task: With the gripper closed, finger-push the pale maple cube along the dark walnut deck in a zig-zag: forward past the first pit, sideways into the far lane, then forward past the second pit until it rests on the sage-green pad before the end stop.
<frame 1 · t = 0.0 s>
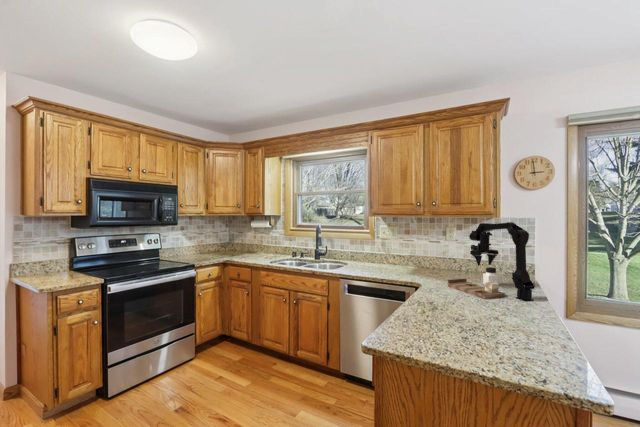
hand: (484, 265, 199), 15 cm above the counter, fingers open, 9 cm apart
maple cube: (491, 291, 180), point 2 cm above the counter, touching trap deck
trap deck: (474, 291, 188), on the counter
medicine bottle: (490, 285, 206), on the counter
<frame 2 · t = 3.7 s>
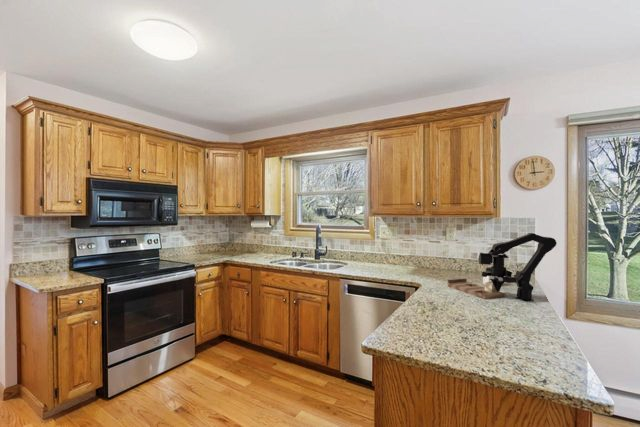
hand: (498, 291, 176), 3 cm above the counter, fingers closed
maple cube: (491, 291, 180), point 2 cm above the counter, touching gripper, trap deck
everything else where it was.
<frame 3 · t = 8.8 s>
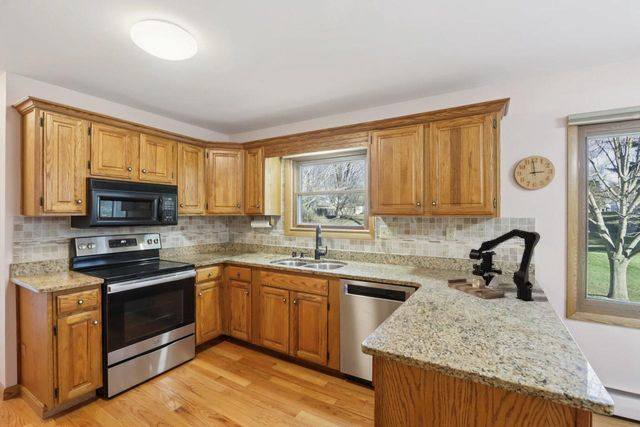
hand: (486, 285, 189), 3 cm above the counter, fingers closed
maple cube: (479, 287, 189), point 2 cm above the counter, touching gripper, trap deck
everything else where it was.
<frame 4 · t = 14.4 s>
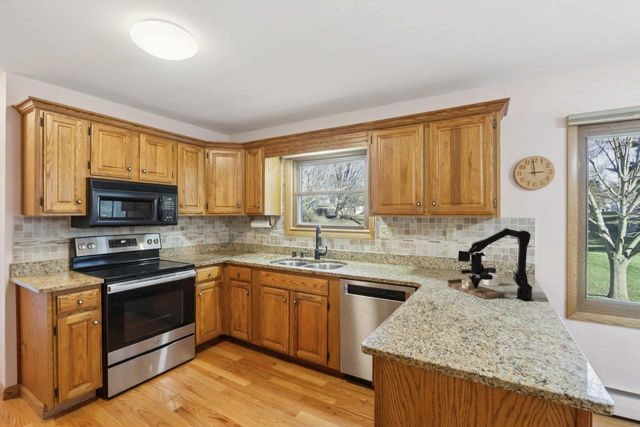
hand: (476, 288, 182), 4 cm above the counter, fingers closed
maple cube: (468, 288, 186), point 2 cm above the counter, touching gripper
everything else where it was.
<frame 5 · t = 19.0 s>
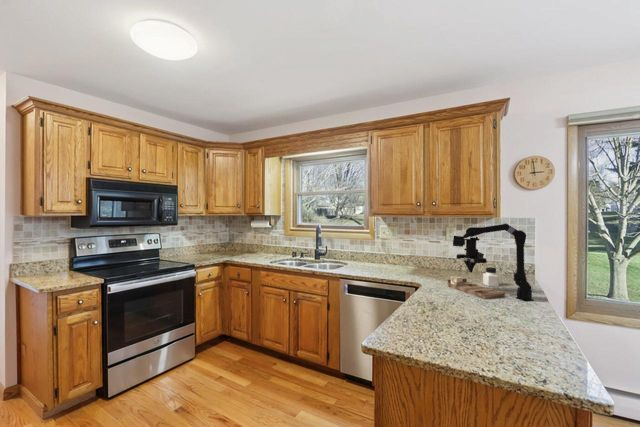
hand: (470, 272, 186), 12 cm above the counter, fingers closed
maple cube: (456, 284, 196), point 2 cm above the counter, touching trap deck
everything else where it was.
at the end: maple cube inside the target area (1.1 cm from its centre), point 2.4 cm above the counter; maple cube tilted 0° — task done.
